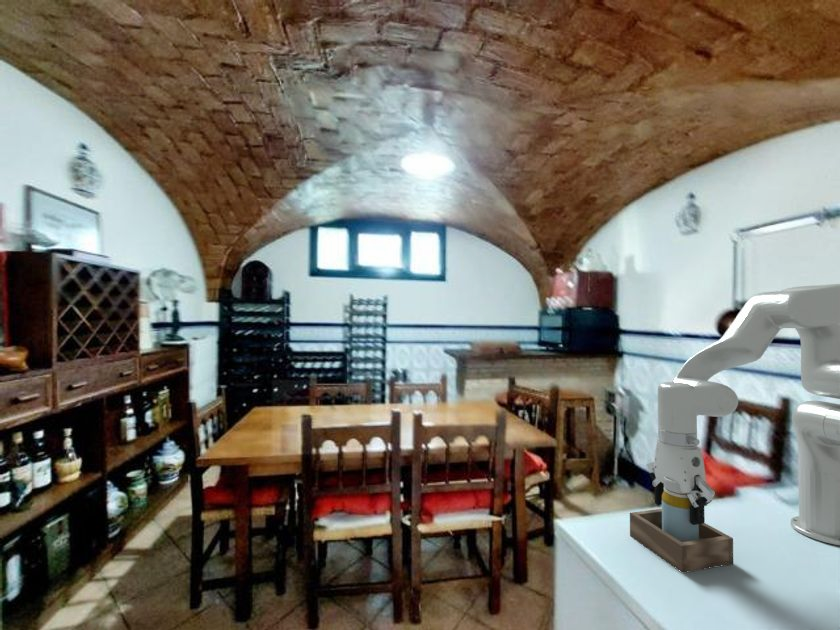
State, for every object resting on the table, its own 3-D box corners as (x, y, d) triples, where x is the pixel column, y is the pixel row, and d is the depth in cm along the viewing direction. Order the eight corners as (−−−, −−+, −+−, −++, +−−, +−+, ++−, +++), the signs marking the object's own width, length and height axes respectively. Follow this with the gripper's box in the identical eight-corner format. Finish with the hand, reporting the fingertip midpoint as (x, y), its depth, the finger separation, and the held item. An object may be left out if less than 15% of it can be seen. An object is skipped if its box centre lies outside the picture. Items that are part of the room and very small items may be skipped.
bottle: (704, 555, 90) (703, 486, 90) (669, 552, 91) (668, 483, 91) (690, 538, 96) (689, 474, 96) (657, 535, 98) (656, 472, 98)
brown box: (675, 529, 103) (675, 506, 103) (733, 564, 88) (733, 538, 88) (629, 535, 100) (629, 512, 100) (682, 572, 85) (681, 546, 85)
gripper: (726, 447, 87) (728, 530, 86) (661, 426, 103) (662, 495, 103) (696, 450, 85) (698, 534, 85) (635, 428, 102) (636, 498, 102)
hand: (678, 513), depth 94 cm, fingers open, 9 cm apart
